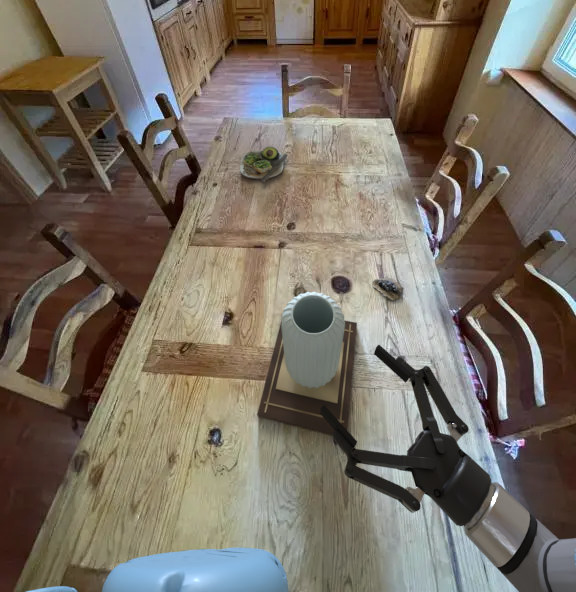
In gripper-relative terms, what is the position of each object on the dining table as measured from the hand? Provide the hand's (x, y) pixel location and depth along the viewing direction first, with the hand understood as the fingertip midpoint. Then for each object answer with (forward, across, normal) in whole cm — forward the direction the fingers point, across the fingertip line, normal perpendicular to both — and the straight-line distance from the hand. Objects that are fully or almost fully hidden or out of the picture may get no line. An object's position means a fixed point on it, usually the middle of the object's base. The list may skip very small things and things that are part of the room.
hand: (350, 377), depth 56 cm
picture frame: (+10, +2, -20) cm, 23 cm away
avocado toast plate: (+76, +42, -20) cm, 89 cm away
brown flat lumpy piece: (+11, +31, -20) cm, 38 cm away
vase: (+11, +2, -18) cm, 21 cm away
